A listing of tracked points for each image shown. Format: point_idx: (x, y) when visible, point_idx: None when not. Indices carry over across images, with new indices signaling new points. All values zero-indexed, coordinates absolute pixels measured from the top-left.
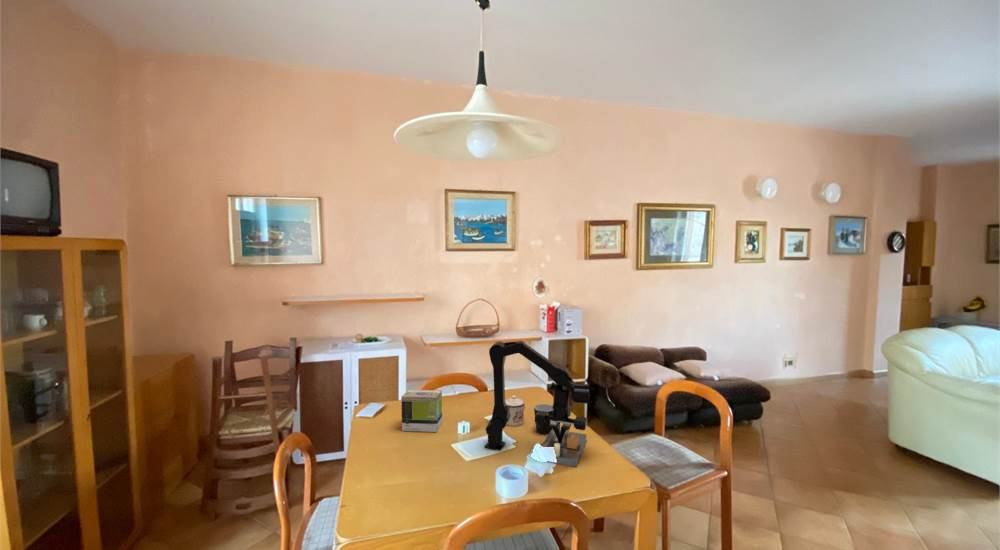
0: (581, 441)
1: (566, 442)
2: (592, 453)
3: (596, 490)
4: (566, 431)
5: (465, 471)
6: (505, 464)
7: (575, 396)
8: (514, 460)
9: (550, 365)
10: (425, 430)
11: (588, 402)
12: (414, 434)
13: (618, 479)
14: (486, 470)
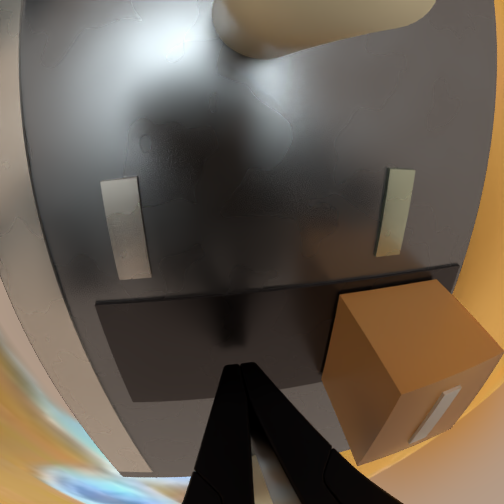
0: (472, 161)
1: (302, 266)
2: (483, 215)
3: (406, 449)
4: (297, 44)
5: (5, 487)
6: (43, 469)
7: None
8: (41, 451)
9: None
10: None
11: None
12: None
13: (491, 374)
14: (35, 487)
